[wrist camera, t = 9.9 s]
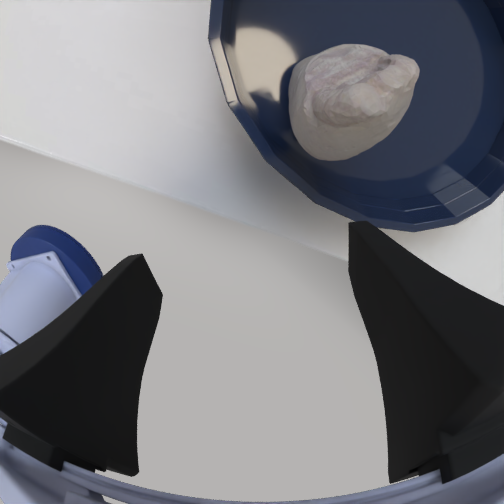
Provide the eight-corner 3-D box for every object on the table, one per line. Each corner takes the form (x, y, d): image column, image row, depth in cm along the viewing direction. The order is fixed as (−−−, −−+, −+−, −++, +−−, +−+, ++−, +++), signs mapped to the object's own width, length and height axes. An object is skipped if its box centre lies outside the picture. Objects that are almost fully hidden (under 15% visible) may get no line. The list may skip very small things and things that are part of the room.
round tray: (172, 127, 16) (149, 142, 13) (299, -115, 4) (305, -141, 1) (432, 243, 21) (453, 272, 17) (530, 49, 8) (561, 55, 5)
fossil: (314, 142, 16) (365, 222, 8) (264, 116, 16) (264, 169, 7) (359, 67, 13) (460, 74, 5) (309, 37, 12) (366, -4, 4)
